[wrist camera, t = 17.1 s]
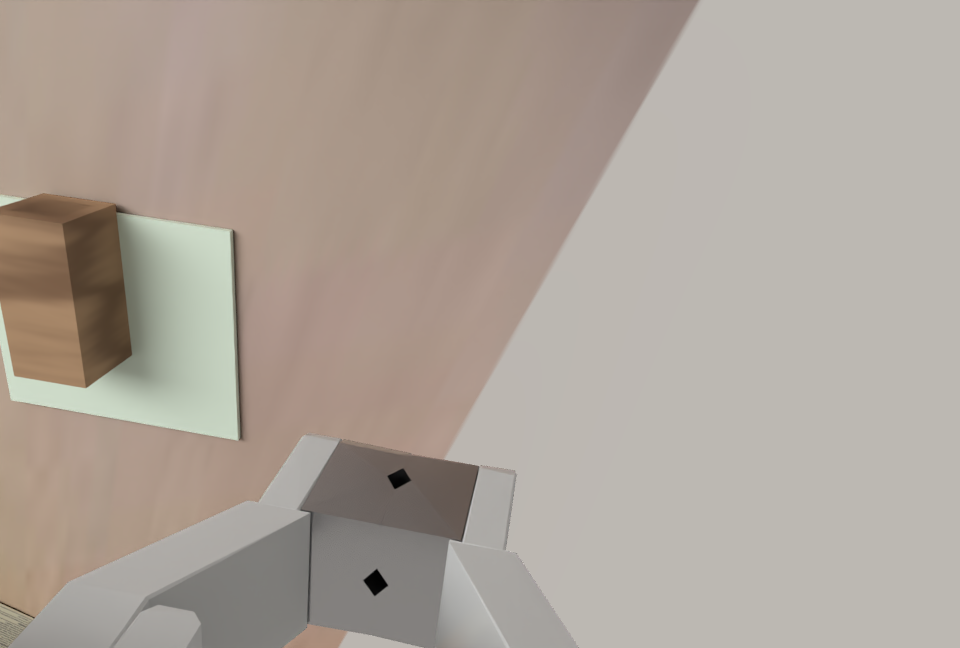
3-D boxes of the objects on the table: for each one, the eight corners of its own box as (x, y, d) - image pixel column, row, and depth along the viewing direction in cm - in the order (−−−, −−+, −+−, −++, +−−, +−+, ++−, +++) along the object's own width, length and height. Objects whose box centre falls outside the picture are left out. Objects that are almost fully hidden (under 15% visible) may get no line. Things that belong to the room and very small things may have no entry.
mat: (-24, 190, 46) (-29, 192, 46) (232, 229, 45) (230, 231, 44) (14, 397, 53) (11, 400, 52) (240, 437, 51) (237, 440, 51)
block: (-18, 211, 41) (14, 376, 45) (62, 223, 40) (85, 388, 45) (43, 193, 45) (66, 344, 50) (115, 203, 45) (132, 355, 49)
